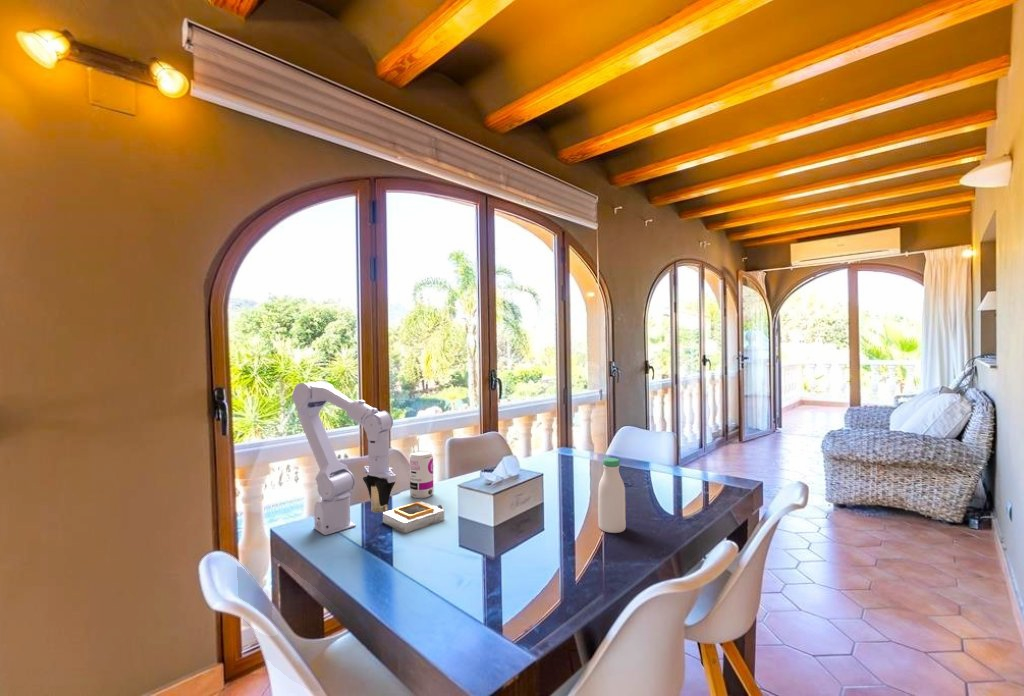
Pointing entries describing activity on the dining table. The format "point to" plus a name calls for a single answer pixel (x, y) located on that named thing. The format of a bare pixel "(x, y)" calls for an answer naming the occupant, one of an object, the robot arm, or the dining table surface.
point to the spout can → (376, 501)
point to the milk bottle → (611, 498)
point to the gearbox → (413, 516)
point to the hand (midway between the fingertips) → (379, 502)
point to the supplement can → (421, 474)
